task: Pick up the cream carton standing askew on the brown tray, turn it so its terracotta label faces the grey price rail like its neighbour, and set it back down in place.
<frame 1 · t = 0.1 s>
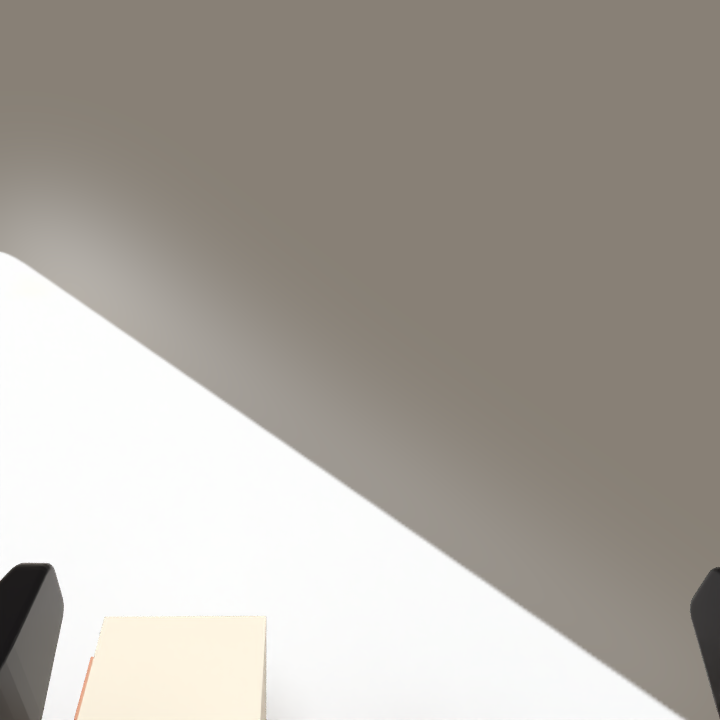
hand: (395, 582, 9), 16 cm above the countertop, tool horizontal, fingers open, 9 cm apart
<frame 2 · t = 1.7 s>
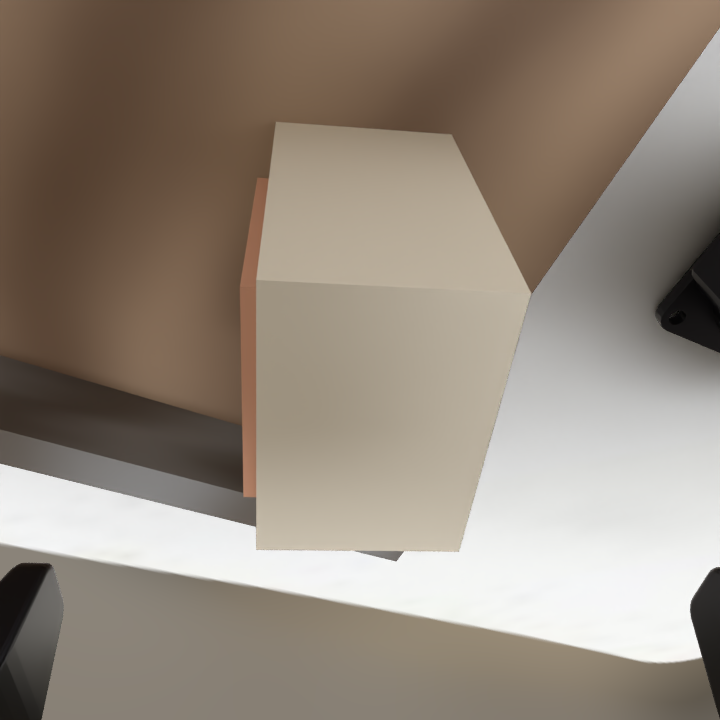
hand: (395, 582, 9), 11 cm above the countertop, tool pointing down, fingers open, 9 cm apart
brown tray: (132, 111, 16), on the countertop
askew carton: (353, 247, 17), point 1 cm above the countertop, touching brown tray
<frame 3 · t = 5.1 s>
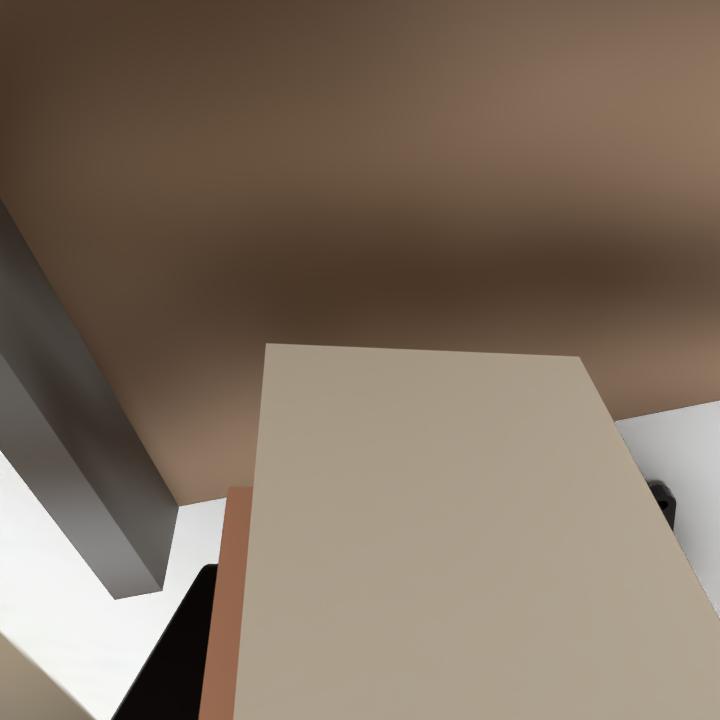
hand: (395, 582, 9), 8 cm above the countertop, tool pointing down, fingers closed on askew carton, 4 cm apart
askew carton: (396, 509, 10), point 7 cm above the countertop, touching gripper
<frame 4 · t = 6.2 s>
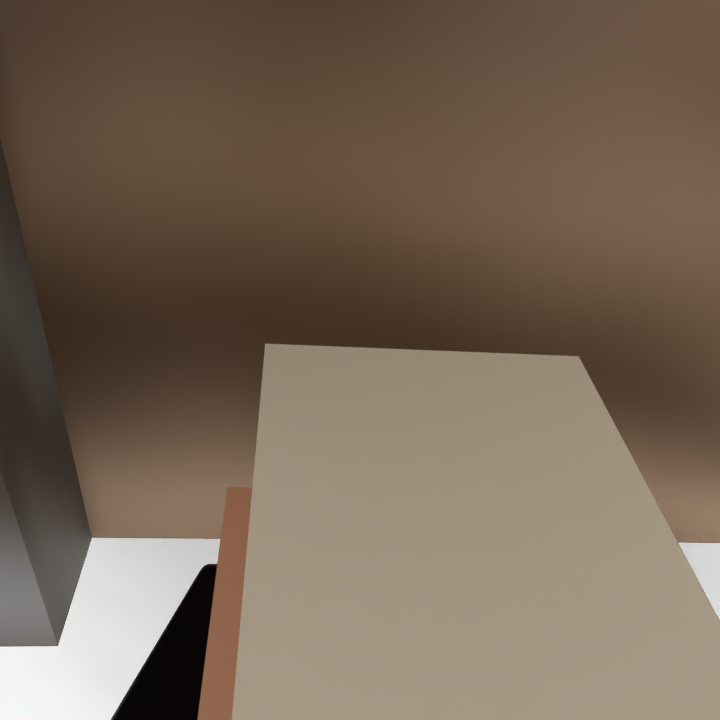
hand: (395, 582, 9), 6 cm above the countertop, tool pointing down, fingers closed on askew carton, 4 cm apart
brown tray: (494, 14, 11), on the countertop
askew carton: (395, 509, 10), point 5 cm above the countertop, touching gripper
when the fingers open (4 cm above the countertop, at t = 7.0 s): askew carton stays where it is, resting on brown tray.
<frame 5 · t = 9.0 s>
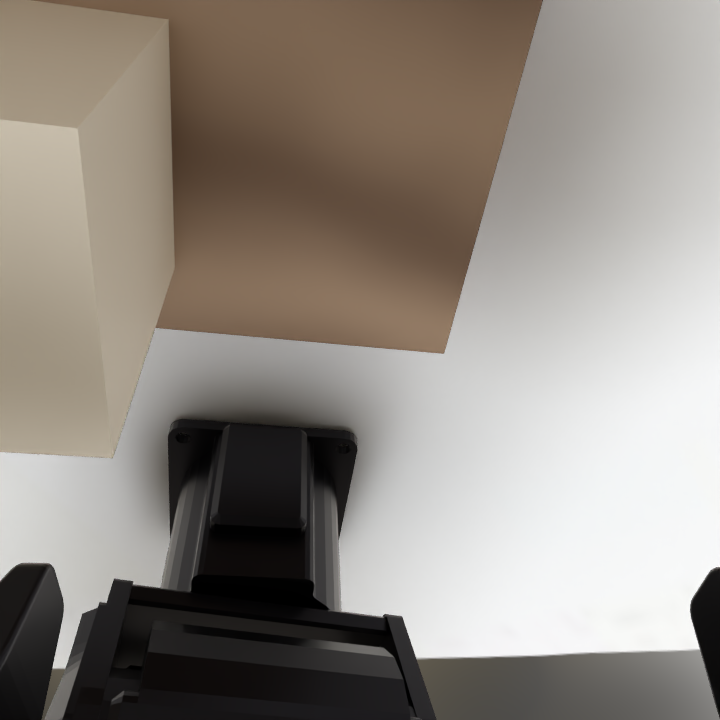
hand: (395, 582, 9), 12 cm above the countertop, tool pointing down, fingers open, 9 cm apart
askew carton: (84, 147, 16), point 1 cm above the countertop, touching brown tray
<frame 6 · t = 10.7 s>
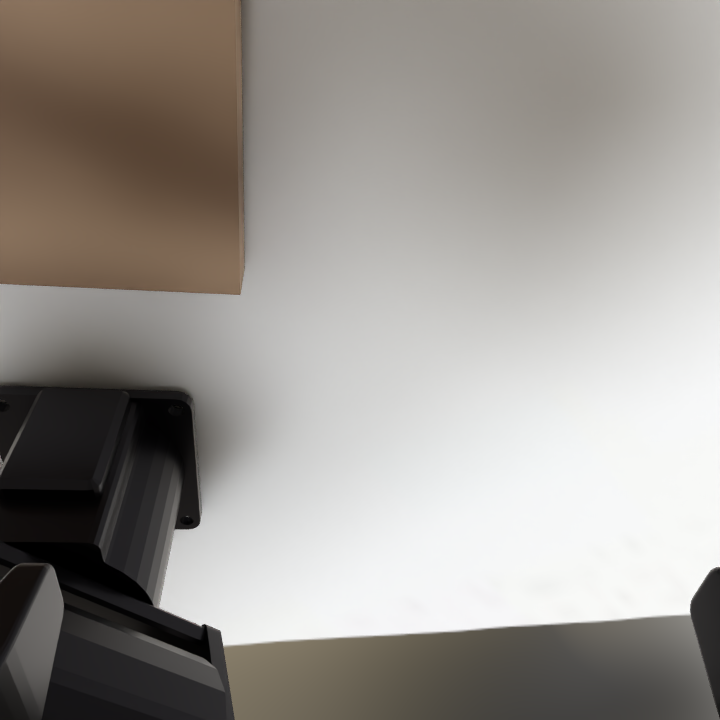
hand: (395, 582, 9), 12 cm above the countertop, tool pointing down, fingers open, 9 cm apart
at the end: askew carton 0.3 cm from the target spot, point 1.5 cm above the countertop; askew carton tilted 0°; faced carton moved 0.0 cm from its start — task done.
